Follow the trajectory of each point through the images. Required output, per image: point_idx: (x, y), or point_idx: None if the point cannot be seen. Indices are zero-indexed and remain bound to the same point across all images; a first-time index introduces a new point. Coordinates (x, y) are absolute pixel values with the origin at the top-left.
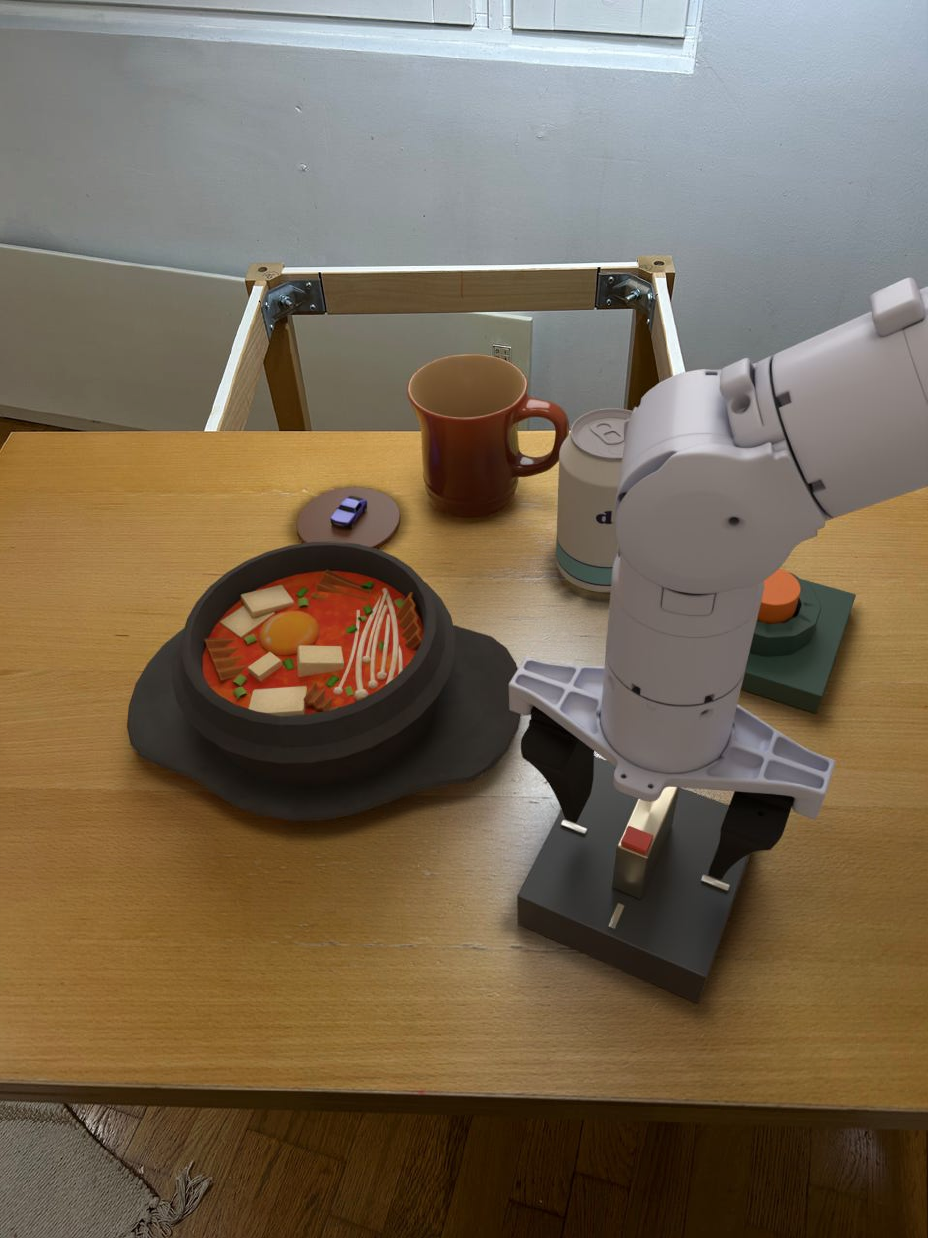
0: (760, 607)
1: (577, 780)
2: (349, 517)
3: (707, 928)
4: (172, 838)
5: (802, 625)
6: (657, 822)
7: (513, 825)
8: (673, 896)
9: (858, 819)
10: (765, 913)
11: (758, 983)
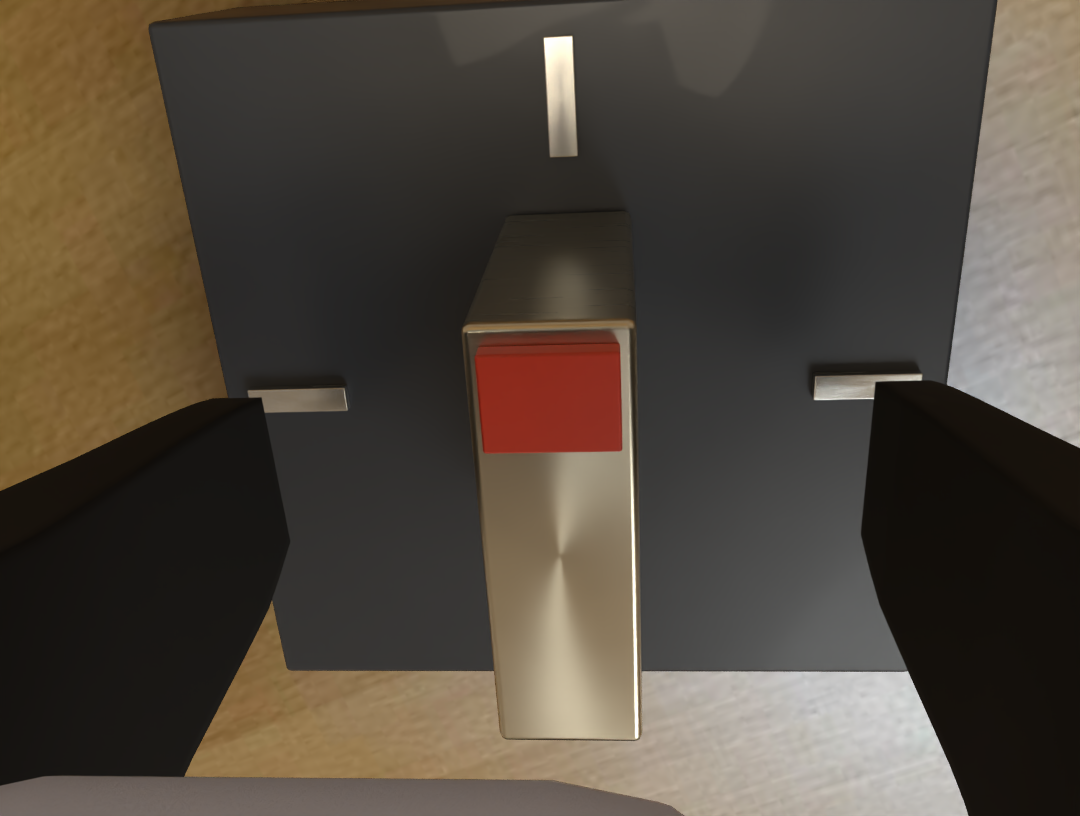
0: None
1: (993, 580)
2: None
3: (241, 223)
4: None
5: None
6: (503, 524)
7: (1064, 329)
8: (405, 286)
9: None
10: (211, 395)
11: (120, 175)
